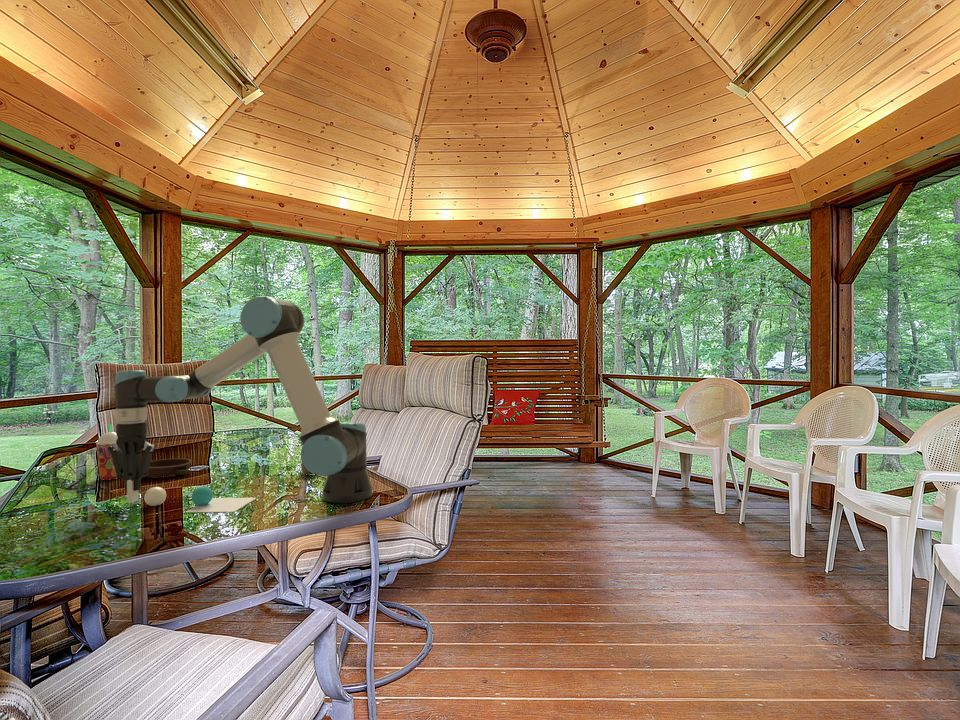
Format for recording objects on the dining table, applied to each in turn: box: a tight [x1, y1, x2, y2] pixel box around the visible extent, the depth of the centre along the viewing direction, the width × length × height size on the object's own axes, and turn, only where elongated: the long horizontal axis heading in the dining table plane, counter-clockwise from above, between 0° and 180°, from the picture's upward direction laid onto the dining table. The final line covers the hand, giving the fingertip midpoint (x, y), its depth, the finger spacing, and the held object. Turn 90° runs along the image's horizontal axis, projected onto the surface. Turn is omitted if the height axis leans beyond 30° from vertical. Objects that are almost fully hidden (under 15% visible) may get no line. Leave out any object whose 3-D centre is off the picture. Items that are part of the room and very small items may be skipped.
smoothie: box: [96, 424, 122, 480], centre depth 180 cm, size 8×8×20 cm
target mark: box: [184, 497, 258, 514], centre depth 146 cm, size 14×14×1 cm
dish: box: [145, 457, 193, 478], centre depth 186 cm, size 18×22×5 cm
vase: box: [300, 461, 313, 475], centre depth 184 cm, size 7×7×9 cm
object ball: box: [191, 486, 214, 506], centre depth 146 cm, size 6×6×6 cm
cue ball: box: [143, 486, 167, 507], centre depth 146 cm, size 6×6×6 cm
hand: (132, 501), depth 146 cm, fingers closed
